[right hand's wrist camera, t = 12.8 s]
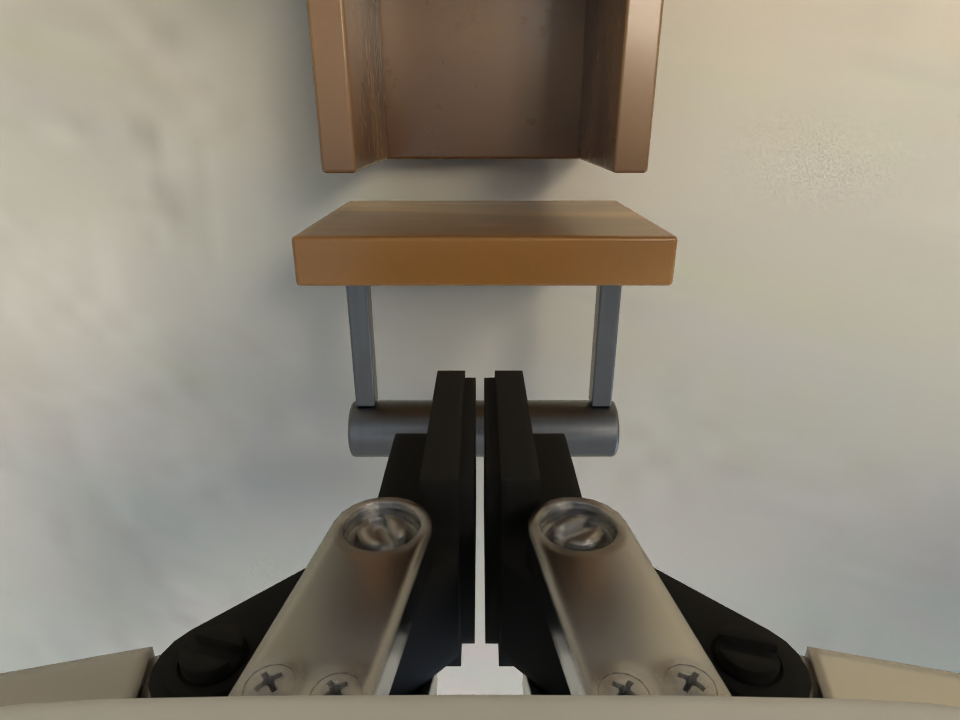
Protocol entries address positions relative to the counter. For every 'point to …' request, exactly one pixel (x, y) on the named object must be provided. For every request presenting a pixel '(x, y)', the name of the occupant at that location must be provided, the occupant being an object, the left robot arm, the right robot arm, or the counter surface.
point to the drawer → (484, 135)
